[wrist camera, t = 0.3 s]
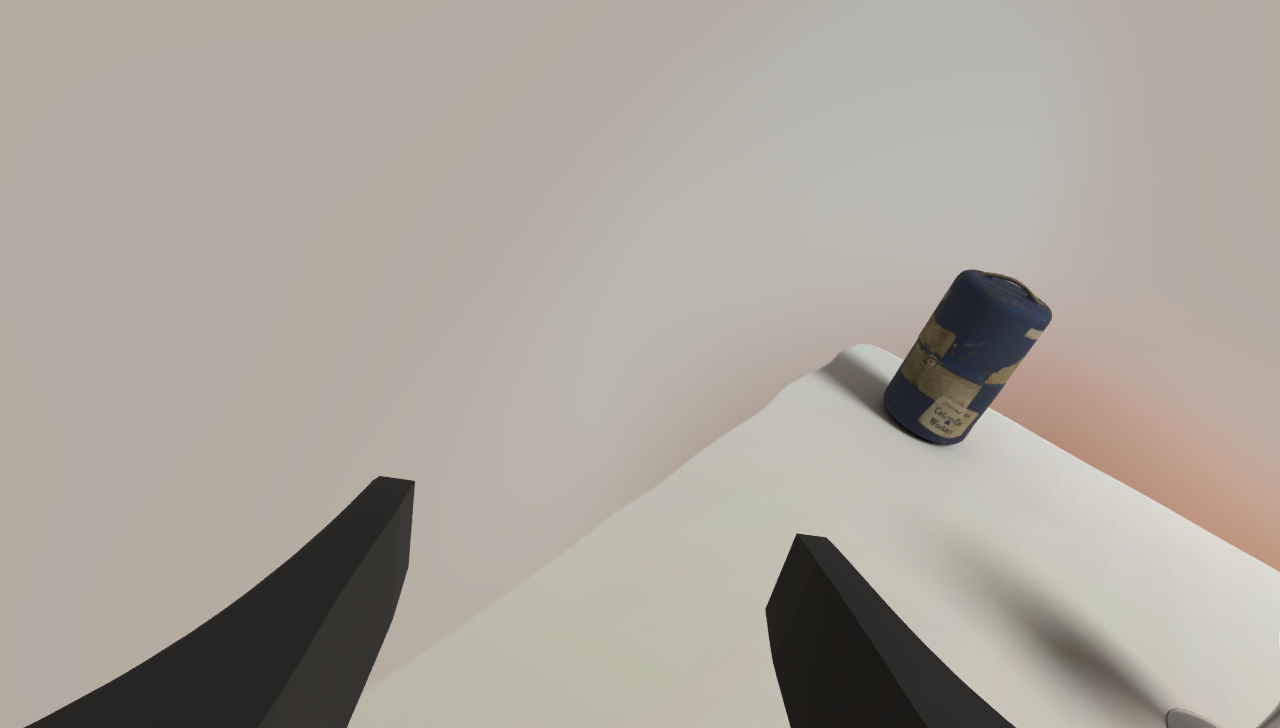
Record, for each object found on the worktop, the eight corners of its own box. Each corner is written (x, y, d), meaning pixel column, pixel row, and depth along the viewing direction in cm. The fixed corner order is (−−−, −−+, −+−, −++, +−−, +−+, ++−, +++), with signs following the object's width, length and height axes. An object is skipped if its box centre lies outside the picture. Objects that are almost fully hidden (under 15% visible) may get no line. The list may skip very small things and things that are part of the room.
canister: (905, 393, 78) (992, 257, 70) (975, 445, 73) (1079, 303, 64) (861, 401, 72) (951, 253, 64) (932, 458, 66) (1041, 303, 58)
